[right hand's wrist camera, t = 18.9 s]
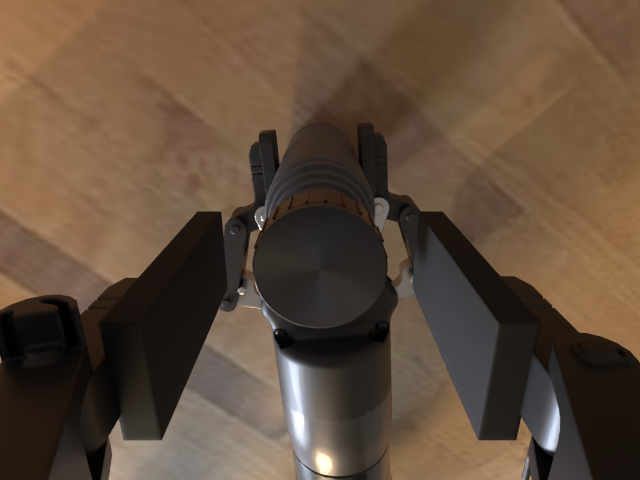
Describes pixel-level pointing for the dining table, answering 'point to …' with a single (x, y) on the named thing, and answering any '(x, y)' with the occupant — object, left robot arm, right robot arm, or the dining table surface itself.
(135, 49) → the dining table surface
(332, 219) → the cap
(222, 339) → the dining table surface
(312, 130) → the bottle
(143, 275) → the right robot arm
